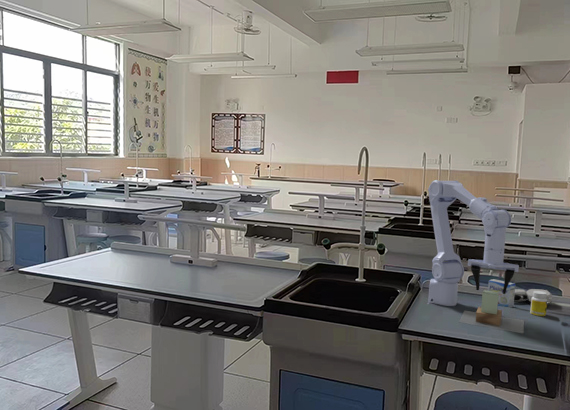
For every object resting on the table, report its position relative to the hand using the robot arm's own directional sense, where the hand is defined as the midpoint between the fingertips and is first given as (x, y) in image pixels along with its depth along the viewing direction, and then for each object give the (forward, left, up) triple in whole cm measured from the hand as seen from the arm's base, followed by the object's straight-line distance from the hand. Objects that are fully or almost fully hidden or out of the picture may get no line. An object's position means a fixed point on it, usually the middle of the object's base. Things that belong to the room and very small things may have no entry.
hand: (490, 291), depth 154 cm
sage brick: (0, 0, -6) cm, 6 cm away
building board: (+1, 0, -10) cm, 10 cm away
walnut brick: (0, 0, -9) cm, 9 cm away
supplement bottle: (+14, +17, -11) cm, 24 cm away
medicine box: (+2, +25, -11) cm, 27 cm away
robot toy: (+11, +36, -11) cm, 39 cm away
